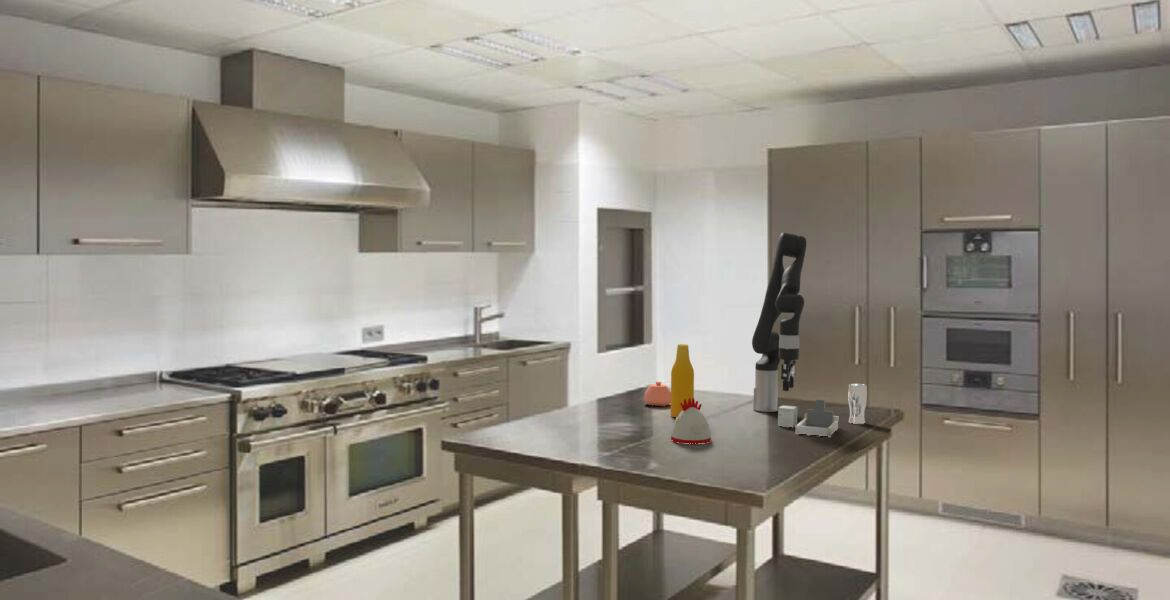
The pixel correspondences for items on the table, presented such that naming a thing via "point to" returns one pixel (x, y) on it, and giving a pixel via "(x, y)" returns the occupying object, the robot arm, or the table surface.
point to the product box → (787, 416)
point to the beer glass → (857, 402)
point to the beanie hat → (691, 425)
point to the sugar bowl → (658, 395)
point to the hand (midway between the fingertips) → (788, 389)
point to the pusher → (819, 415)
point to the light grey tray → (816, 428)
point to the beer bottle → (681, 380)
